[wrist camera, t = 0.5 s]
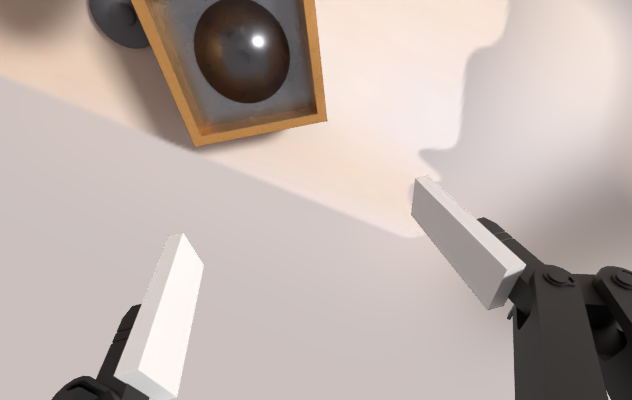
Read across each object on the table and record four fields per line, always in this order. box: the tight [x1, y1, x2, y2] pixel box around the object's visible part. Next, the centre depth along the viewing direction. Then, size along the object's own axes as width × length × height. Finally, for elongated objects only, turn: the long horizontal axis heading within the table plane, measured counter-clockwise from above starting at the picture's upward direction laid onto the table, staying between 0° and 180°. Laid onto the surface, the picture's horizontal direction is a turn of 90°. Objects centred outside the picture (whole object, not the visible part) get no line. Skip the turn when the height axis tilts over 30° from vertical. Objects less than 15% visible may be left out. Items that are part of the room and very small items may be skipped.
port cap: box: [89, 0, 150, 48], centre depth 26 cm, size 6×6×2 cm
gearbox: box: [131, 0, 327, 147], centre depth 28 cm, size 15×15×8 cm
